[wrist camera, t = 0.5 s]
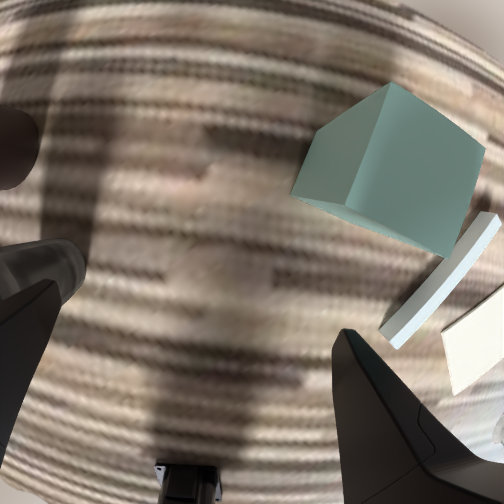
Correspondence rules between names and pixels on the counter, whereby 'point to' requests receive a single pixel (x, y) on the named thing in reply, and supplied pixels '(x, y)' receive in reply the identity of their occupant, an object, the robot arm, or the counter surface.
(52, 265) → the beverage cup
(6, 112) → the bottle
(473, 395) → the counter surface
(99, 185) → the counter surface
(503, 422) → the french press
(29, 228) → the counter surface
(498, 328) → the resting pad
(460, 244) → the acrylic strip
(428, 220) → the sage block
